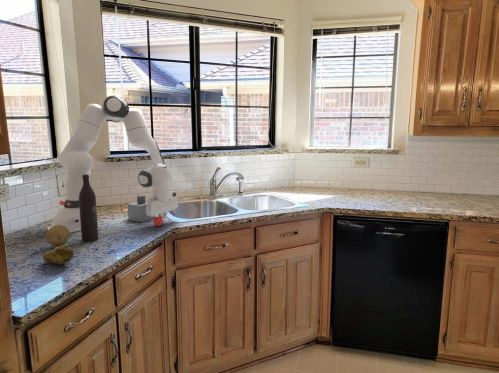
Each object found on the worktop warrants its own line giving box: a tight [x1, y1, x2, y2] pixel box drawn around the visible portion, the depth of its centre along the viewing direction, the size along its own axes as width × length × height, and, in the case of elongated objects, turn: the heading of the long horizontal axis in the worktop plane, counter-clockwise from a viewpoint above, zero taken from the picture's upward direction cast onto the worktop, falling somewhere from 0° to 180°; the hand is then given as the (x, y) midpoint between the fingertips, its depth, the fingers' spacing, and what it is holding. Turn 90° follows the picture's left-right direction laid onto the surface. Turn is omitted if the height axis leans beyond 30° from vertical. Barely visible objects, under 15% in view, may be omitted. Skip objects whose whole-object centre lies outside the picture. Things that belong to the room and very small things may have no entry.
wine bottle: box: [79, 174, 99, 243], centre depth 168 cm, size 7×7×30 cm
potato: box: [42, 245, 75, 265], centre depth 141 cm, size 8×13×8 cm, turn 47°
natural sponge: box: [45, 225, 71, 248], centre depth 159 cm, size 9×9×10 cm
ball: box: [152, 216, 164, 227], centre depth 193 cm, size 5×5×5 cm
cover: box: [127, 195, 156, 223], centre depth 206 cm, size 10×10×13 cm
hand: (163, 220), depth 196 cm, fingers closed
